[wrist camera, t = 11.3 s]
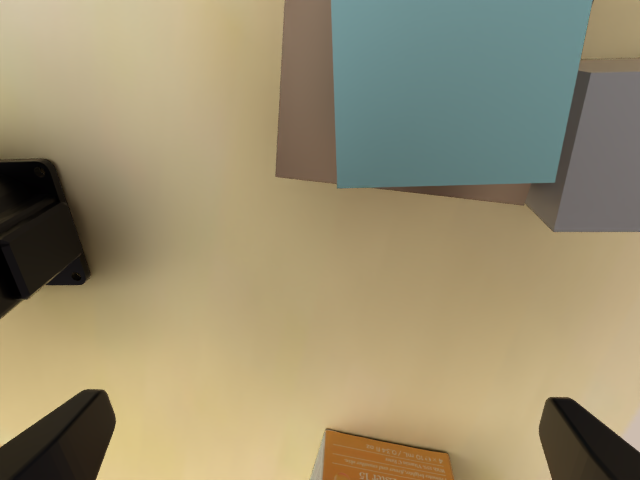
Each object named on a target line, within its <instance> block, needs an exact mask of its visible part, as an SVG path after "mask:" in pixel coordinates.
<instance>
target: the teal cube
mask: <svg viewBox="0 0 640 480" xmlns="http://www.w3.org/2000/svg"><path fill="white" fill-rule="evenodd" d="M592 1H593V0H331V17H332V47H333V76H334V106H335V136H336V165H337V188H372V187H410V186H447V185H485V184H522V183H555V179H556V175H557V170H558V165H559V160H560V155H561V151H562V146H563V141H564V136H565V131H566V126H567V122H568V117H569V112H570V107H571V102H572V98H573V93H574V88H575V83H576V78H577V73H578V69H579V64H580V59H581V54H582V49H583V44H584V40H585V35H586V30H587V25H588V20H589V16H590V11H591V6H592Z"/></svg>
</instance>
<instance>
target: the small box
mask: <svg viewBox="0 0 640 480" xmlns="http://www.w3.org/2000/svg"><path fill="white" fill-rule="evenodd" d="M310 480H454V476H453V471H452V467H451V463H450V458H449V455H448V454H447V453H441V452H434V451H428V450H423V449H417V448H412V447H407V446H402V445H397V444H392V443H387V442H382V441H377V440H372V439H368V438H363V437H358V436H353V435H348V434H343V433H339V432H337V431H333V430H328V429H326V430H325V432H324V435H323V439H322V442H321V445H320V448H319V452H318V455H317V458H316V461H315V465H314V468H313V471H312V474H311V477H310Z"/></svg>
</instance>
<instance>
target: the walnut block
mask: <svg viewBox="0 0 640 480" xmlns="http://www.w3.org/2000/svg"><path fill="white" fill-rule="evenodd" d="M593 1H594V0H593ZM593 1H592V4H593ZM591 7H592V6H591ZM275 177H281V178H290V179H299V180H307V181H316V182H325V183H333V184H337V165H336V136H335V106H334V76H333V47H332V17H331V0H285V7H284V25H283V44H282V63H281V82H280V101H279V120H278V139H277V158H276V176H275ZM530 186H531V183H522V184H485V185H447V186H410V187H372V188H377V189H386V190H394V191H403V192H412V193H420V194H429V195H438V196H447V197H455V198H464V199H473V200H481V201H490V202H499V203H507V204H516V205H524V204H525V201H526V198H527V195H528V192H529V189H530Z"/></svg>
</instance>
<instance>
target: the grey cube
mask: <svg viewBox="0 0 640 480" xmlns="http://www.w3.org/2000/svg"><path fill="white" fill-rule="evenodd" d="M525 204H526V205H527V206H528V207H529V208H530V209H531V210H532V211H533V212H534V213H535V214H536V215H537V216H538V217H539V218H540V219H541V220H542V221H543V222H544V223H545V224H546V225H547V226H548V227H549V228H550V229H551V230H552V231H553V232H640V58H616V59H580V64H579V69H578V73H577V78H576V83H575V88H574V93H573V98H572V102H571V107H570V112H569V117H568V122H567V126H566V131H565V136H564V141H563V146H562V151H561V155H560V160H559V165H558V170H557V175H556V179H555V183H531V186H530V189H529V192H528V195H527V198H526V201H525Z"/></svg>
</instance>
